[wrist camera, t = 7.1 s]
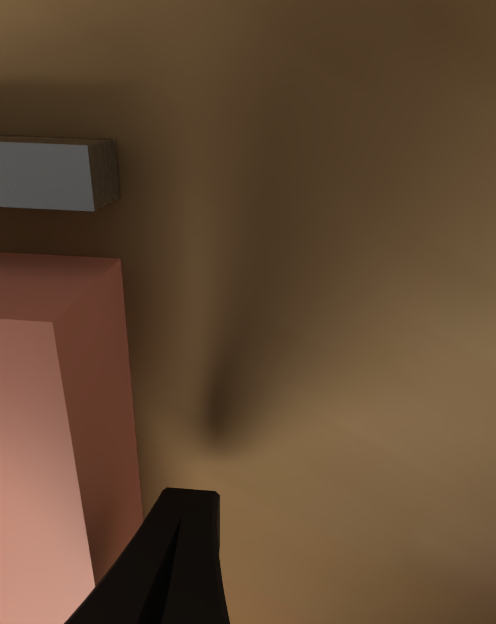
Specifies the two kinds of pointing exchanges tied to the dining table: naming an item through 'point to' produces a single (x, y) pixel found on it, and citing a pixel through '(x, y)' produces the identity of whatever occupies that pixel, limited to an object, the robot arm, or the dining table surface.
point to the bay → (58, 173)
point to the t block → (63, 433)
